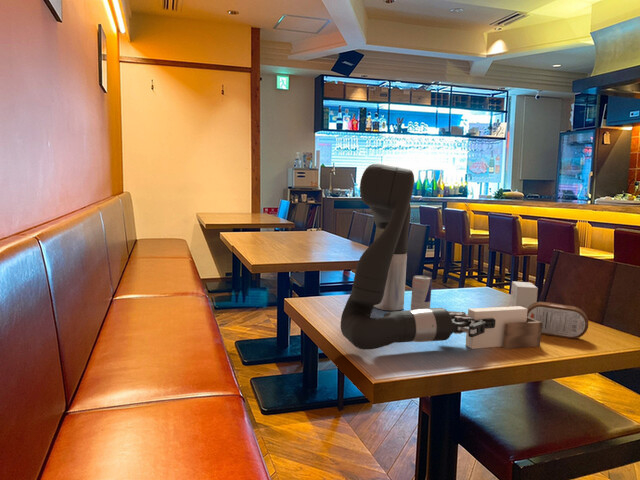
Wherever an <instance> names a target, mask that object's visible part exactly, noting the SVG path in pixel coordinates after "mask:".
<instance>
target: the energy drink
mask: <svg viewBox="0 0 640 480" xmlns="http://www.w3.org/2000/svg"><path fill="white" fill-rule="evenodd" d="M411 283H412V284H411V300H410V310H413V309H426V308H431V302H432V301H431V299H432V285H433V280H432V277H431V276H427V275H414V276H413V278H412V282H411Z"/></svg>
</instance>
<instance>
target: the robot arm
mask: <svg viewBox="0 0 640 480" xmlns="http://www.w3.org/2000/svg"><path fill="white" fill-rule="evenodd" d="M414 185H415V175H414V172H413V171H412V170H411V169H410V168H409V169H408V168H403V167H399V166H398V167H397V166H393V165H389V164H387V165H386V164H382V163H381V164H380V163H373V164H370V165H368V166H367V167H366V168H365V169H364V171H363V173H362V176H361V179H360V183H359V195H360V199H361V201H362V203H363V204H364V205H366V206H368V207H369V209H370V211H371V213H372V215H373V220H374V224H375V226H376V227H377V228H378V229H380V230H383V231H382V232H381V233H380V234H379V235H378V237H376V239H375V240H374V241H373V242H372V243H371V244H370V245H369V246H368V247H367V248H366V249H365V250H364V252H363V253H362V254H361V255H360V258H359V260H358V261H357V265H356V268H355V272H354V276H353V281H352V288H351V293H350V295H349V297H348V298H347V300H346V303H345V306H344V307H343V311H342V313H341V317H340V331H341V333H342V335H343V337H345V339H346V340H347V341H349V342H350V343H351V344H352V345H353V346H354V347H356V348H358V349H359V350H365V351H366V350H375V349H380V348H383V347H386V346H389V345H392V344H394V343H395V344H397V343H427V342H428V343H429V342H430V343H431V342H443V341H447V340H448V339H449V338H450V337H451V335H453V334H455V335H461V334H464V333H465V334H466V333H469V335H468V336H469V337H475V336H477V335H480V334H482V333H484V332H485V329H487V328H494V327H495V319H493V318H489V319H473V318H472V317H468V313H466V311H453V310H447V309H446V308H443V307H430V308H426V309H413V310H411V309H409V310H403V309H404V307H405V293H406V292H405V290H406V279H407V278H406V277H407V275H406V274H407V260H408V246H409V245H408V244H409V243H408V242H409V239H408V238H409V232H410V231H409V230H410V223H411V221H410V220H411V213H412V212H411V211H412V208H411V207H412V206H411V199H412V196H413V191H414ZM374 308H376V309H378V310H382V311H388V312H386V313H385V314H384V315H383V316H382V317H381V316H380V317H371V316H372V312H373V309H374ZM468 321H469V322H468ZM475 322H477V323H475Z"/></svg>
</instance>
